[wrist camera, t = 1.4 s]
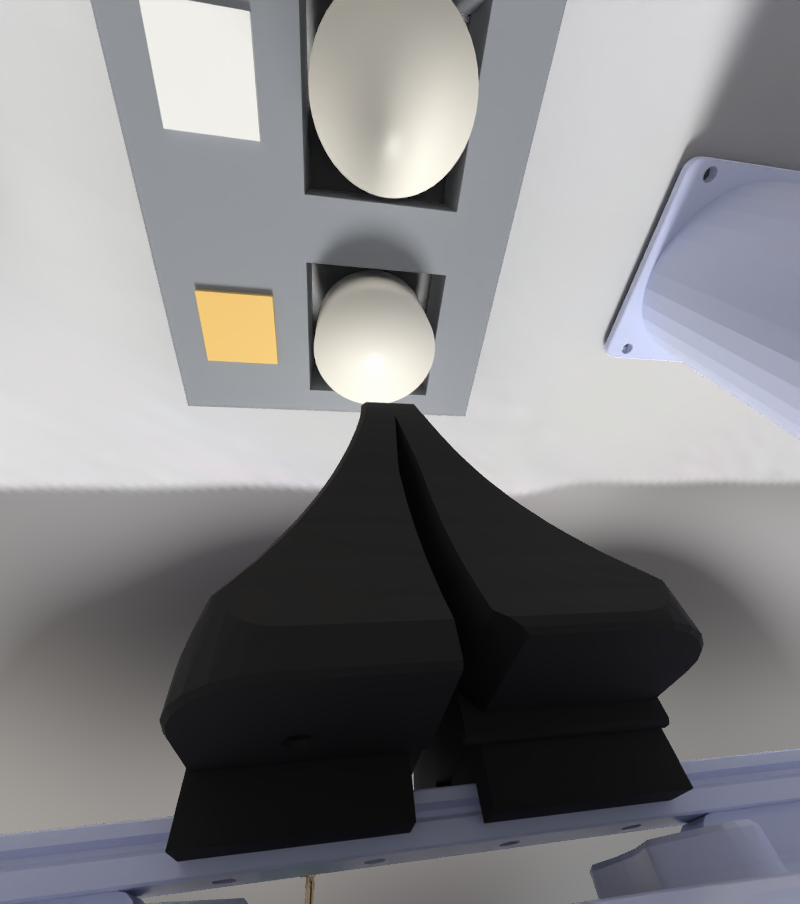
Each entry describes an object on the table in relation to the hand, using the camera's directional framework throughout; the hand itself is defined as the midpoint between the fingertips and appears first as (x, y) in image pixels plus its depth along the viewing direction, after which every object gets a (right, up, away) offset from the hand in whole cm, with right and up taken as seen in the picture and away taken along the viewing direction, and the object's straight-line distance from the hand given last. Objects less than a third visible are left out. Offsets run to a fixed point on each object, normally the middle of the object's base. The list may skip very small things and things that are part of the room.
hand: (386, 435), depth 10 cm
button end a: (-1, +5, +6) cm, 8 cm away
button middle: (0, +10, +2) cm, 10 cm away
